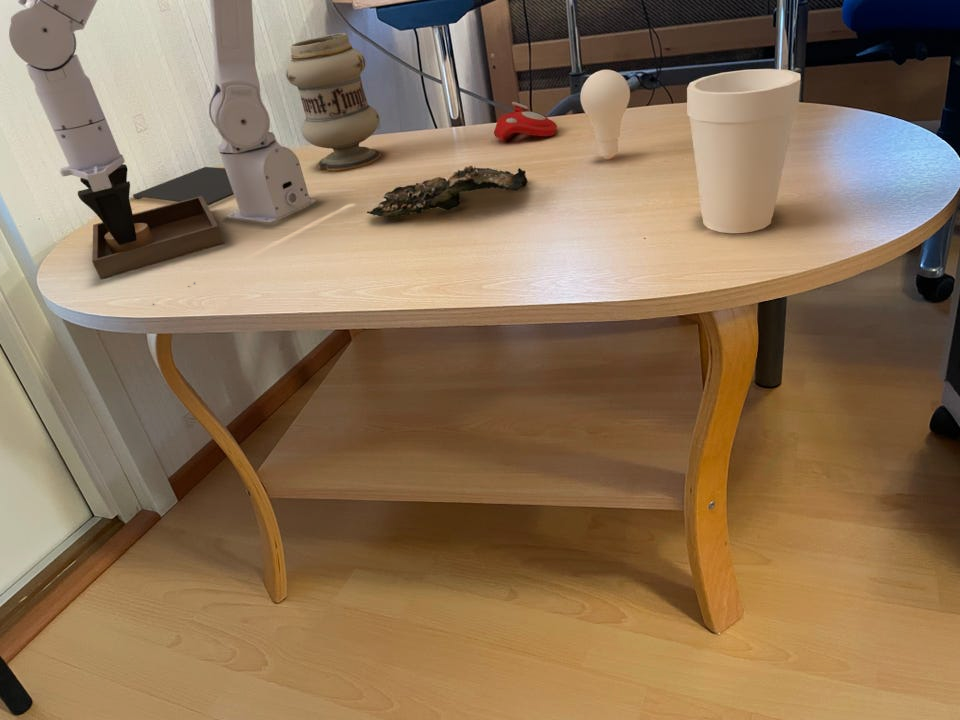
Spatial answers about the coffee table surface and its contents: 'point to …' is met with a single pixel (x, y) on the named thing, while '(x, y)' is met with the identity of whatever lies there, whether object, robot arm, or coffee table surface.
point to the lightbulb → (605, 108)
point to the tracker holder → (523, 123)
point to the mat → (192, 187)
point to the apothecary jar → (334, 100)
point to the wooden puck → (141, 239)
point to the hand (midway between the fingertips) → (126, 233)
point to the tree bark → (445, 191)
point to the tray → (160, 237)
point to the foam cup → (741, 144)
